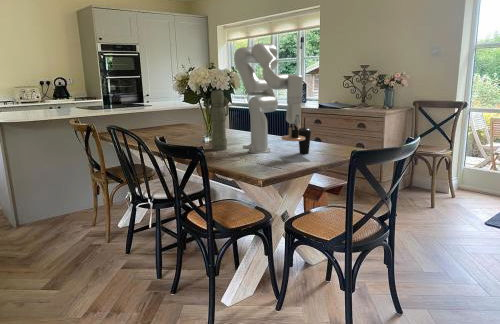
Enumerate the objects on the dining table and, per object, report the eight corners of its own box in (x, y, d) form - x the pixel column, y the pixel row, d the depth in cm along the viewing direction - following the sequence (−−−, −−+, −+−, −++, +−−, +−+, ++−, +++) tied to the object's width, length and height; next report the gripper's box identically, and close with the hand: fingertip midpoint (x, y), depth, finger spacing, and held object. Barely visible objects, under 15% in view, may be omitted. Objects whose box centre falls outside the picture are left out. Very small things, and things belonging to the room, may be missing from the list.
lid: (285, 141, 185) (285, 130, 184) (278, 137, 196) (278, 126, 195) (308, 140, 188) (309, 129, 186) (300, 136, 199) (301, 125, 197)
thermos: (230, 149, 224) (228, 90, 216) (210, 151, 222) (207, 90, 214) (228, 147, 233) (226, 89, 225) (209, 148, 230) (206, 90, 222)
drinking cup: (303, 152, 213) (303, 116, 209) (314, 153, 208) (314, 117, 203) (294, 154, 209) (294, 117, 204) (304, 156, 203) (305, 119, 198)
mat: (286, 163, 186) (286, 163, 186) (278, 158, 199) (278, 157, 199) (311, 162, 189) (311, 161, 189) (302, 156, 201) (302, 156, 201)
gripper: (282, 99, 194) (281, 134, 199) (292, 102, 178) (291, 140, 183) (296, 98, 196) (295, 133, 200) (307, 101, 180) (306, 139, 185)
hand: (293, 136), depth 192 cm, fingers closed on lid, 4 cm apart
